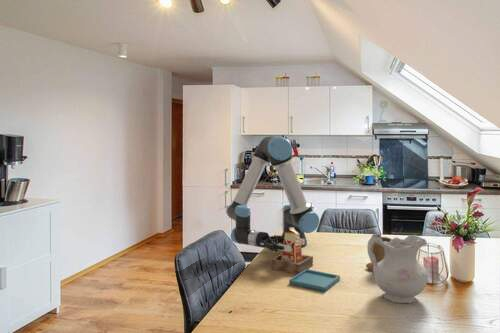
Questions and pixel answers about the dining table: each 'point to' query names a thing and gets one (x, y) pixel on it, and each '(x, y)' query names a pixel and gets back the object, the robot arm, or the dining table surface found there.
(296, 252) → the milk carton
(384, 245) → the ceramic pitcher
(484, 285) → the dining table surface
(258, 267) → the dining table surface
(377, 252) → the stone cup
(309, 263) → the holder
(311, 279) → the tray
